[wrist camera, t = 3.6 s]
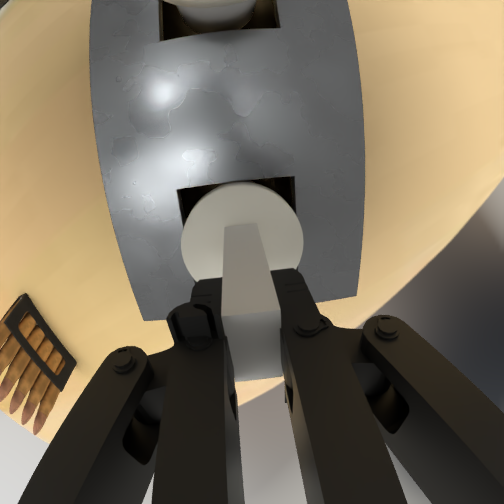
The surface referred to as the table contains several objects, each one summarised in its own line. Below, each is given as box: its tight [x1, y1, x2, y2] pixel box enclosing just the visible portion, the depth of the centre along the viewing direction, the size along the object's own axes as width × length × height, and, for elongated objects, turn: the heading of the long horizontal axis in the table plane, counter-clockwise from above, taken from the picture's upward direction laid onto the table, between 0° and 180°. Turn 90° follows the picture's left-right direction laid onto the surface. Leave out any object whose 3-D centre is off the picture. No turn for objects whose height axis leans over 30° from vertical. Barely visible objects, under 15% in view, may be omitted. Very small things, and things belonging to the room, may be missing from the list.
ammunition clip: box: [0, 293, 77, 435], centre depth 19 cm, size 11×2×12 cm, turn 17°
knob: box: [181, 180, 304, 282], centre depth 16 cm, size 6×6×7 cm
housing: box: [89, 0, 365, 321], centre depth 14 cm, size 24×14×6 cm, turn 5°
